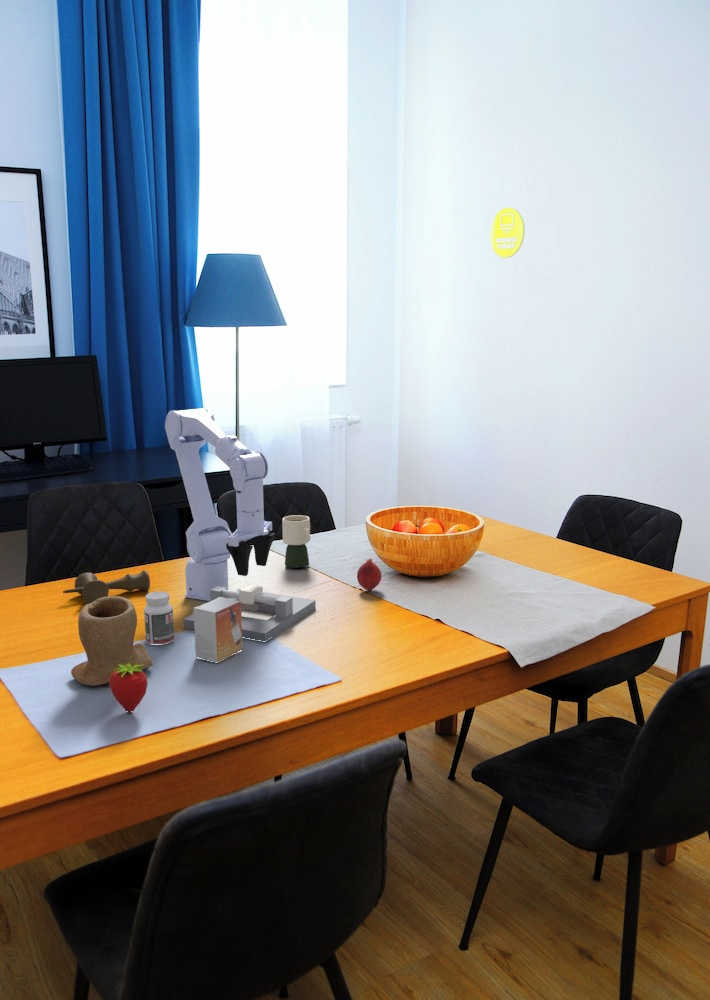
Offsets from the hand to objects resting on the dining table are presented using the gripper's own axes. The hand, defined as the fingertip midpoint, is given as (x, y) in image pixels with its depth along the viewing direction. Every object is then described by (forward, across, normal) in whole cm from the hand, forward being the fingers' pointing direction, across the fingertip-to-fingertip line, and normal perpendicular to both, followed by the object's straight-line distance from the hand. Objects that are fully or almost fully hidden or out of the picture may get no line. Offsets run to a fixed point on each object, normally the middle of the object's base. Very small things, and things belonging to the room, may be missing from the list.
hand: (252, 570), depth 194 cm
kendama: (+11, -4, +38) cm, 40 cm away
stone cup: (+11, -38, +6) cm, 40 cm away
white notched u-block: (+8, -2, -1) cm, 8 cm away
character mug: (+11, +35, +9) cm, 38 cm away
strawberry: (+10, -49, -6) cm, 50 cm away
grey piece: (+10, -2, -1) cm, 10 cm away
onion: (+10, +25, -16) cm, 32 cm away
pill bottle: (+11, -21, +9) cm, 25 cm away
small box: (+10, -22, -6) cm, 25 cm away
